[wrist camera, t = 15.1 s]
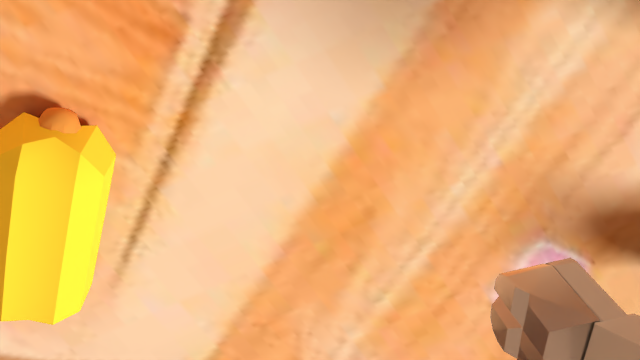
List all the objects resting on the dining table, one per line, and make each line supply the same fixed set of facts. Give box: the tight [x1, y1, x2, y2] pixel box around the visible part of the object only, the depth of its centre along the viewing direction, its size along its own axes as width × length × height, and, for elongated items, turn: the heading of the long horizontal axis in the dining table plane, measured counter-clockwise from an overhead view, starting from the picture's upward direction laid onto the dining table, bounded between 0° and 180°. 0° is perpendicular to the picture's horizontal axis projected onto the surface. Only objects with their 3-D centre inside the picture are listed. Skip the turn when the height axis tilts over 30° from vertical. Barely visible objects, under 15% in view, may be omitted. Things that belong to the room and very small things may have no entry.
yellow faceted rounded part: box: [0, 107, 116, 325], centre depth 40 cm, size 18×7×8 cm
